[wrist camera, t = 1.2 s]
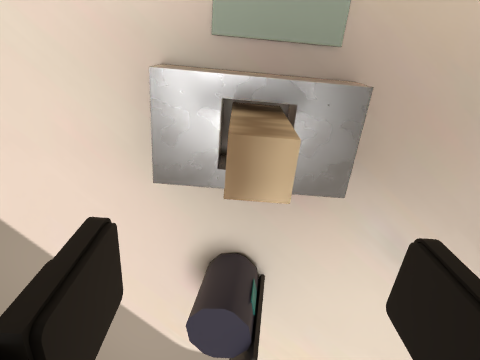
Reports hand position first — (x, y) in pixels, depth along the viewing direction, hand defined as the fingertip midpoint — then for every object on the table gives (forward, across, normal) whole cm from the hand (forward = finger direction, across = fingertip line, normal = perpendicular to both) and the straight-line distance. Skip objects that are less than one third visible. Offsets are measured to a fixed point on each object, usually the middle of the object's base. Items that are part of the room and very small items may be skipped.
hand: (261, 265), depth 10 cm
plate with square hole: (+18, -1, 0) cm, 18 cm away
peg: (+18, -1, 0) cm, 18 cm away
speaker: (+18, 0, +17) cm, 25 cm away
